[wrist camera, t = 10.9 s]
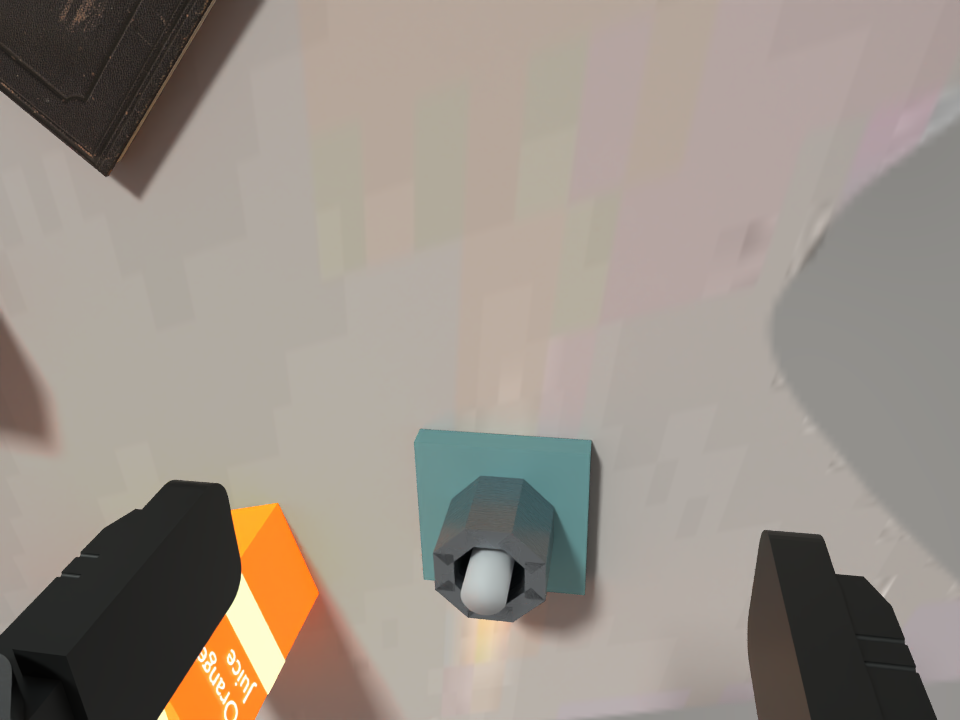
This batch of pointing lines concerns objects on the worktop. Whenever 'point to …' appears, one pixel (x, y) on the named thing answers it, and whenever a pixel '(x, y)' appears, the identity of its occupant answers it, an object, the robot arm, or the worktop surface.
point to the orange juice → (250, 624)
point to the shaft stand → (537, 460)
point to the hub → (497, 541)
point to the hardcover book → (93, 65)
